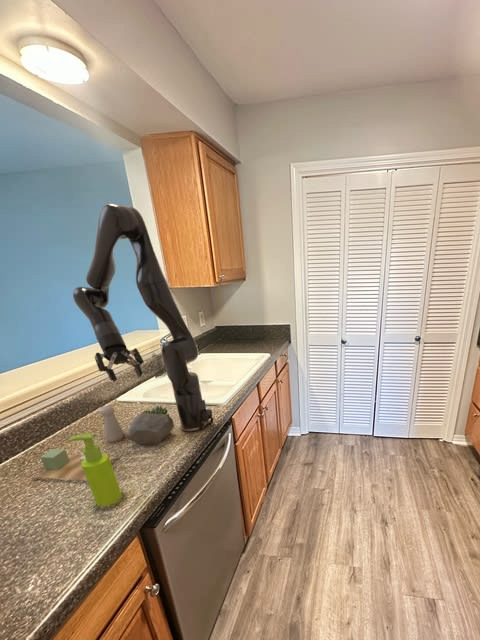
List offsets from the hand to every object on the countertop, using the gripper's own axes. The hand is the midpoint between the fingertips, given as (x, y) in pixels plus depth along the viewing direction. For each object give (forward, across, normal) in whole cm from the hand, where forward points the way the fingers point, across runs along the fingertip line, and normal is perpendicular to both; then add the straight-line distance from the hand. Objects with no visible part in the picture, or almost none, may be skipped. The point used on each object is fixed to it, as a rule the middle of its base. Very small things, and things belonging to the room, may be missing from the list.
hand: (128, 378), depth 112 cm
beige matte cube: (+25, -18, +4) cm, 31 cm away
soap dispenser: (+37, -22, -9) cm, 45 cm away
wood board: (+23, -22, +10) cm, 33 cm away
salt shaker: (+17, -6, +15) cm, 23 cm away
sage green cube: (+19, -25, +14) cm, 34 cm away
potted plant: (+22, +2, +5) cm, 23 cm away
